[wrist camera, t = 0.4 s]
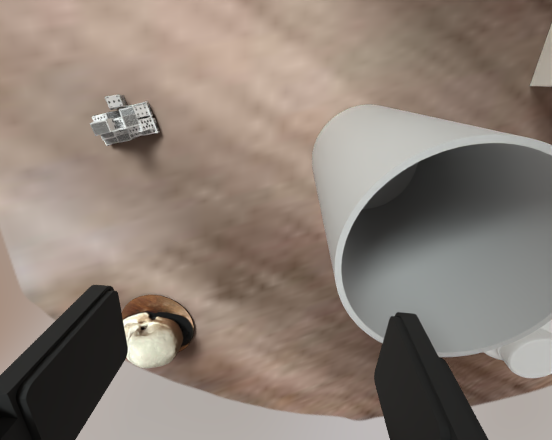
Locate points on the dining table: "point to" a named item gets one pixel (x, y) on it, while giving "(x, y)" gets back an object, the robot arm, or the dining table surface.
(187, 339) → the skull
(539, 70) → the carton
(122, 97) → the house of cards
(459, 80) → the dining table surface
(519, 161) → the cylinder vase
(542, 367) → the pill bottle
